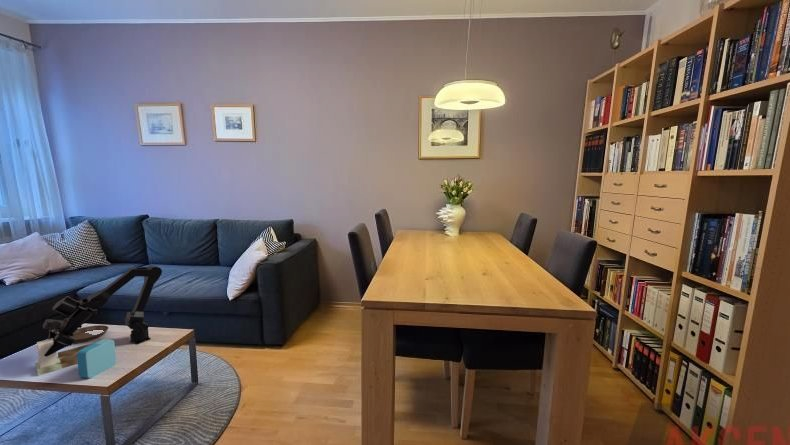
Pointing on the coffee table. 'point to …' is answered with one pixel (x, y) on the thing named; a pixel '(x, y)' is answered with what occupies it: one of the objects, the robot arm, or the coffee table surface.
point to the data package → (96, 358)
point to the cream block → (42, 349)
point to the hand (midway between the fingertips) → (43, 352)
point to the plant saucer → (84, 337)
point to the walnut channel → (62, 360)
